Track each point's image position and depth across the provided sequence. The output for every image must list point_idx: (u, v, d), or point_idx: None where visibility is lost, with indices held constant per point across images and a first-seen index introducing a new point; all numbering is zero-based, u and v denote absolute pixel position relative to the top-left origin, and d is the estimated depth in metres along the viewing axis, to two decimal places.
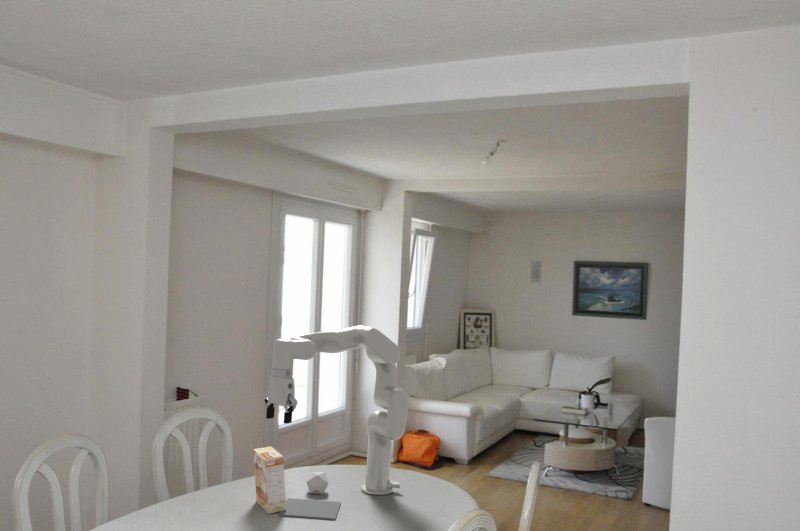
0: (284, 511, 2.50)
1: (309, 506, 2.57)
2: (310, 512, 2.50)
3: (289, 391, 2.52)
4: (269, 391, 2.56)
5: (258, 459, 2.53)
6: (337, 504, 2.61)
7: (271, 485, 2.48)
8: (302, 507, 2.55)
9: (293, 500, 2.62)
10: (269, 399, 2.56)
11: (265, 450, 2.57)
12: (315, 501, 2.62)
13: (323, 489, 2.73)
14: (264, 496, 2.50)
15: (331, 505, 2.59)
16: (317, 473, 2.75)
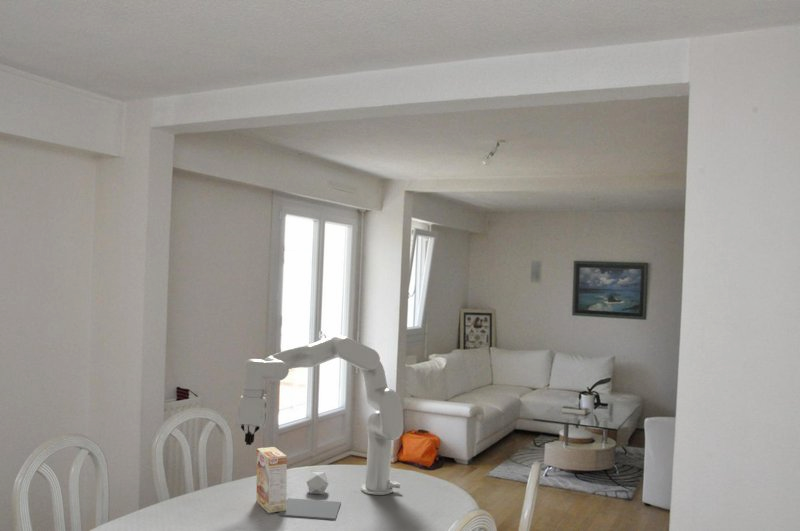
0: (284, 511, 2.50)
1: (309, 506, 2.57)
2: (310, 512, 2.50)
3: (265, 410, 2.56)
4: (240, 413, 2.54)
5: (261, 458, 2.54)
6: (337, 504, 2.61)
7: (272, 483, 2.48)
8: (302, 507, 2.55)
9: (293, 500, 2.62)
10: (240, 421, 2.54)
11: (268, 450, 2.58)
12: (315, 501, 2.62)
13: (323, 489, 2.73)
14: (265, 495, 2.50)
15: (331, 505, 2.59)
16: (316, 473, 2.75)
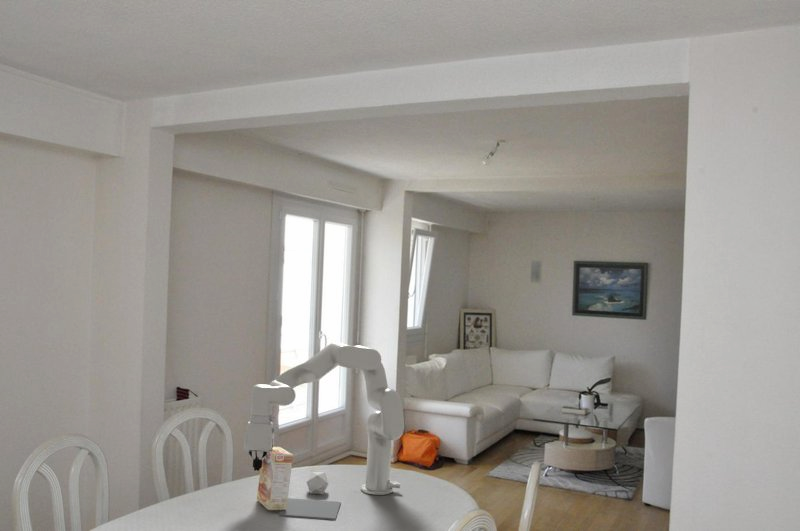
0: (284, 511, 2.50)
1: (309, 506, 2.57)
2: (310, 512, 2.50)
3: (272, 436, 2.56)
4: (247, 439, 2.54)
5: (267, 455, 2.56)
6: (337, 504, 2.61)
7: (276, 481, 2.49)
8: (302, 507, 2.55)
9: (293, 500, 2.62)
10: (247, 446, 2.54)
11: (275, 448, 2.60)
12: (315, 501, 2.62)
13: (323, 489, 2.73)
14: (266, 492, 2.51)
15: (331, 505, 2.59)
16: (317, 473, 2.75)
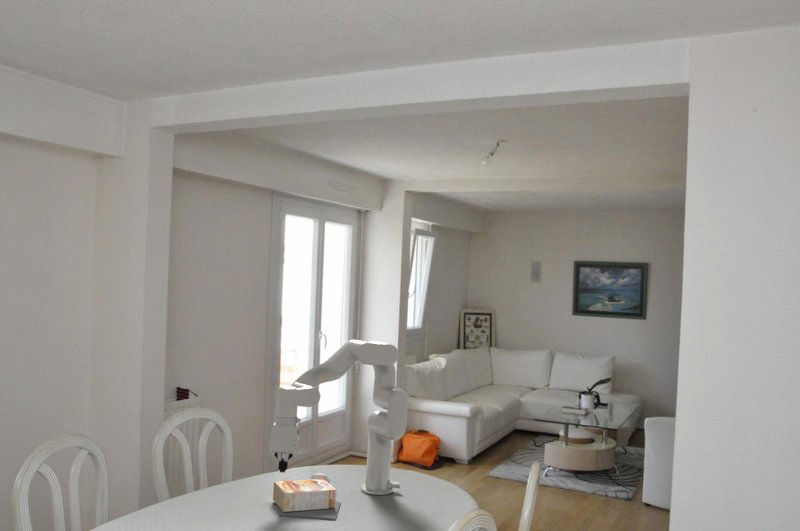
0: None
1: None
2: (310, 512, 2.50)
3: (298, 437, 2.55)
4: (273, 441, 2.54)
5: (324, 483, 2.62)
6: (337, 504, 2.61)
7: (311, 495, 2.52)
8: None
9: None
10: (273, 448, 2.54)
11: None
12: None
13: None
14: (296, 489, 2.53)
15: None
16: None
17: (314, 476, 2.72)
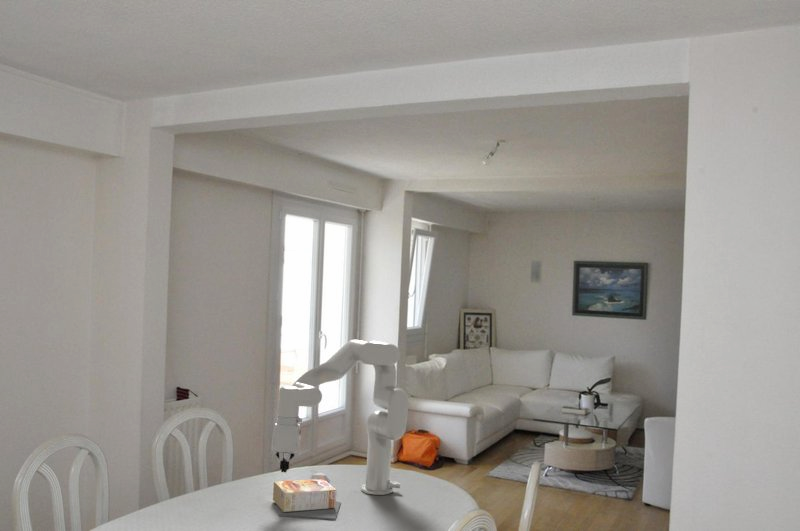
0: None
1: None
2: (310, 512, 2.50)
3: (300, 437, 2.55)
4: (274, 440, 2.54)
5: (324, 483, 2.62)
6: (337, 504, 2.61)
7: (311, 495, 2.52)
8: None
9: None
10: (275, 448, 2.54)
11: None
12: None
13: None
14: (296, 489, 2.53)
15: None
16: None
17: (314, 476, 2.72)
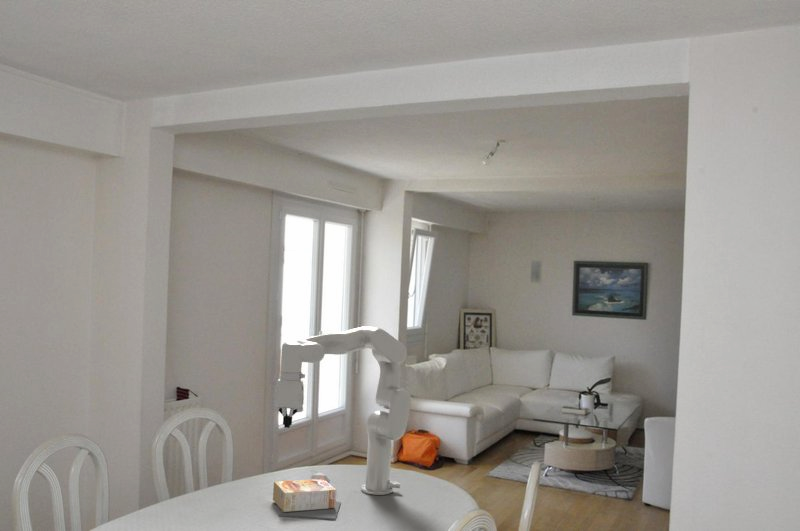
0: None
1: None
2: (310, 512, 2.50)
3: (302, 393, 2.56)
4: (277, 396, 2.54)
5: (324, 483, 2.62)
6: (337, 504, 2.61)
7: (311, 495, 2.52)
8: None
9: None
10: (278, 404, 2.54)
11: None
12: None
13: None
14: (296, 489, 2.53)
15: None
16: None
17: (314, 476, 2.72)
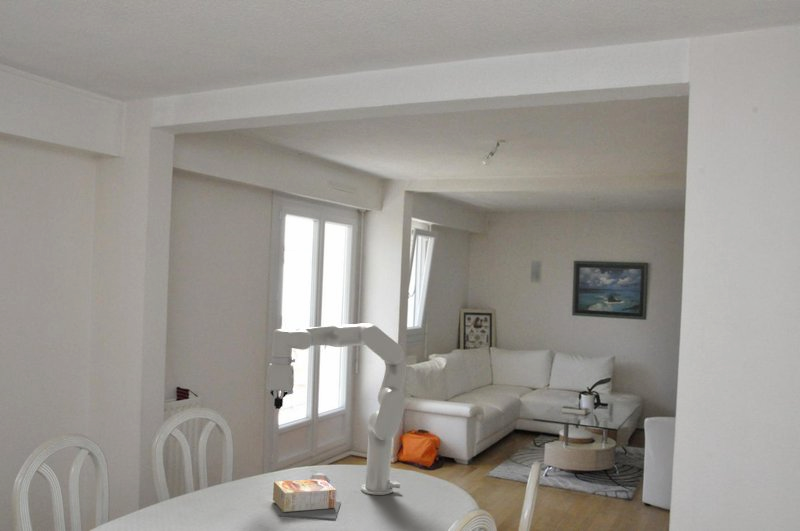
0: None
1: None
2: (310, 512, 2.50)
3: (292, 377, 2.74)
4: (269, 379, 2.72)
5: (324, 483, 2.62)
6: (337, 504, 2.61)
7: (311, 495, 2.52)
8: None
9: None
10: (269, 386, 2.72)
11: None
12: None
13: None
14: (296, 489, 2.53)
15: None
16: None
17: (314, 476, 2.72)
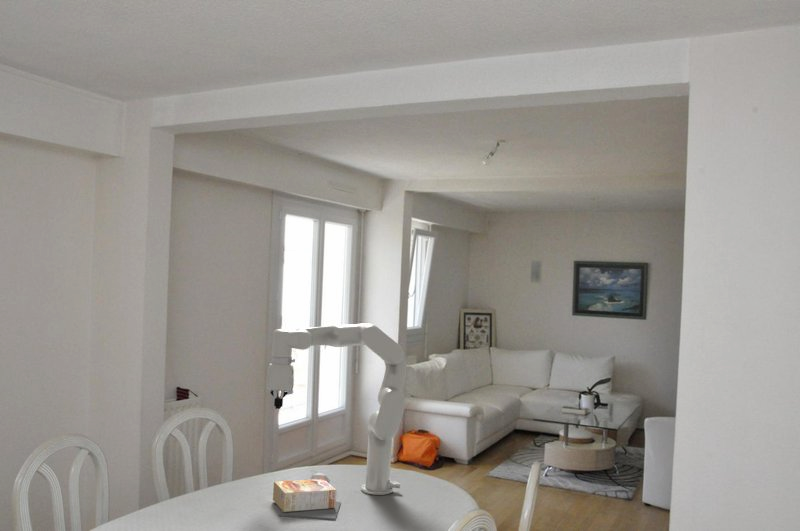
0: None
1: None
2: (310, 512, 2.50)
3: (292, 377, 2.74)
4: (269, 379, 2.72)
5: (324, 483, 2.62)
6: (337, 504, 2.61)
7: (311, 495, 2.52)
8: None
9: None
10: (269, 386, 2.72)
11: None
12: None
13: None
14: (296, 489, 2.53)
15: None
16: None
17: (314, 476, 2.72)
